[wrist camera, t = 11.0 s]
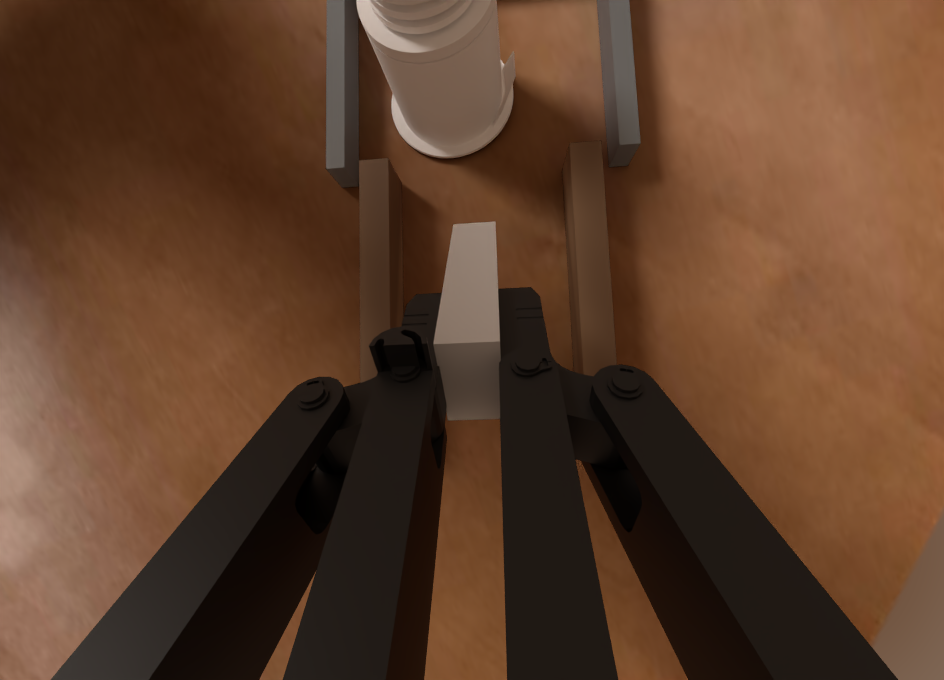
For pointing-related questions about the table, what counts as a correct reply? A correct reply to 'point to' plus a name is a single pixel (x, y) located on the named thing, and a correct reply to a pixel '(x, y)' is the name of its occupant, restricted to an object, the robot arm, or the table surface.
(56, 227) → the table surface
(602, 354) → the slot
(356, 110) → the open frame
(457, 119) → the downlight
